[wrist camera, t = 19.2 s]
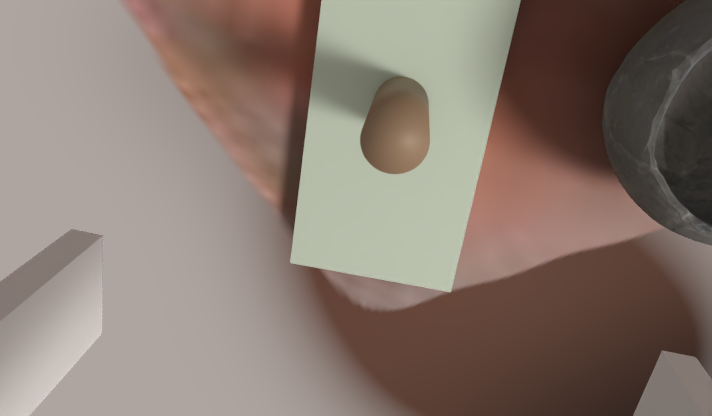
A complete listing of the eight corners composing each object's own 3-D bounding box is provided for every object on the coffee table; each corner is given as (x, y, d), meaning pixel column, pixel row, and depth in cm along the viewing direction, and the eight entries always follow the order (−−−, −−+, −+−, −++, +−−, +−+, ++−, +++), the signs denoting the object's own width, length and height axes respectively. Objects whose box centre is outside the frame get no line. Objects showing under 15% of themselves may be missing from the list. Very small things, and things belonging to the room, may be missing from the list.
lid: (539, -99, 36) (584, -125, 26) (449, 279, 46) (457, 367, 36) (341, -129, 37) (310, -167, 26) (295, 251, 46) (259, 330, 36)
